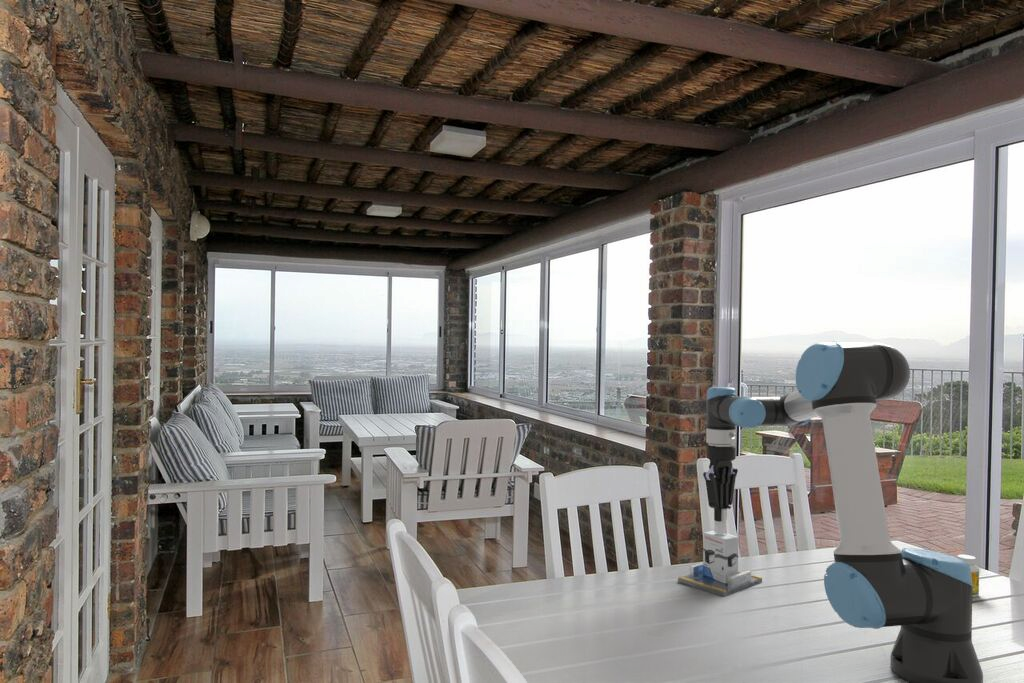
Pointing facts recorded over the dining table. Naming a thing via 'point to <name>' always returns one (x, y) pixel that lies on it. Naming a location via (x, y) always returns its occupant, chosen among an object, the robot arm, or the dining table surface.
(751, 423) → the robot arm
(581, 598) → the dining table surface
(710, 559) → the ink box
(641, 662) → the dining table surface
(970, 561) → the supplement bottle
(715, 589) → the grey tray
